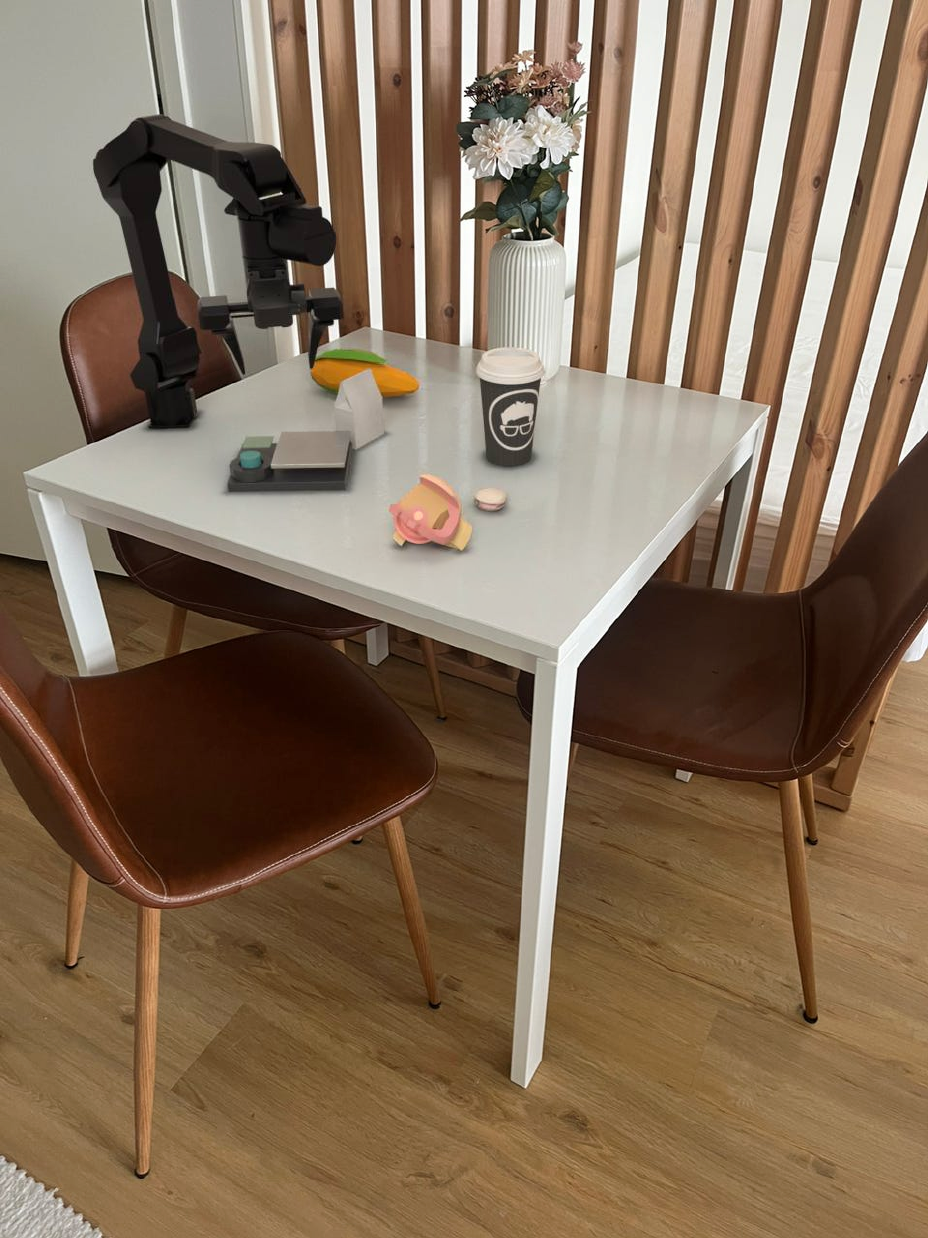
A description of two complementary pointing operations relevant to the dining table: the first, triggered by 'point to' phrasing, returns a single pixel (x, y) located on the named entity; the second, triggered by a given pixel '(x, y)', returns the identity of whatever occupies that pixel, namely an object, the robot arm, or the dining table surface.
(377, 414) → the tea bag
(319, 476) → the scale
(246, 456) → the button
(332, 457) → the scale pan
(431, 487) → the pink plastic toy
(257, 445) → the scale display
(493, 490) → the macaroon
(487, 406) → the coffee cup
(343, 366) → the corn
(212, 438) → the dining table surface
